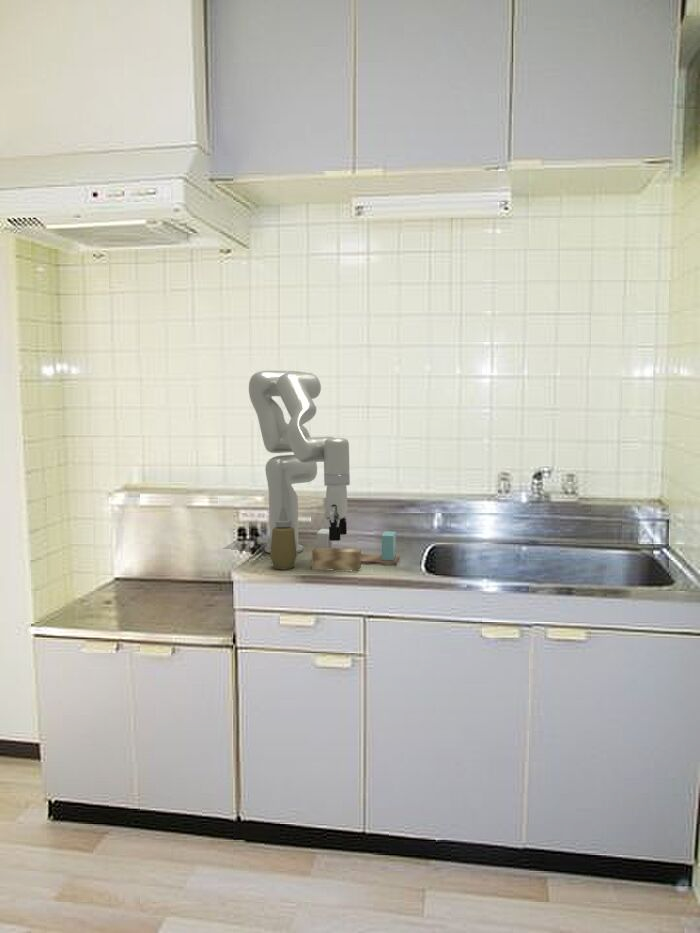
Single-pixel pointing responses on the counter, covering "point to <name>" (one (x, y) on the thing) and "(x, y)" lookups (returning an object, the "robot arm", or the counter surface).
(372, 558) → the walnut board
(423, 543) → the counter surface
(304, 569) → the counter surface
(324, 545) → the grey upright block
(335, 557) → the light wooden block
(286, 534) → the squeeze bottle
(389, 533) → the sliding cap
